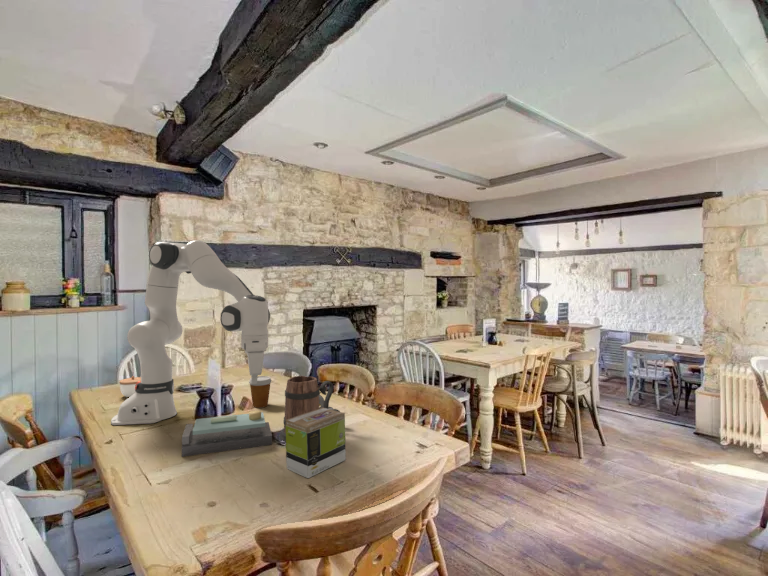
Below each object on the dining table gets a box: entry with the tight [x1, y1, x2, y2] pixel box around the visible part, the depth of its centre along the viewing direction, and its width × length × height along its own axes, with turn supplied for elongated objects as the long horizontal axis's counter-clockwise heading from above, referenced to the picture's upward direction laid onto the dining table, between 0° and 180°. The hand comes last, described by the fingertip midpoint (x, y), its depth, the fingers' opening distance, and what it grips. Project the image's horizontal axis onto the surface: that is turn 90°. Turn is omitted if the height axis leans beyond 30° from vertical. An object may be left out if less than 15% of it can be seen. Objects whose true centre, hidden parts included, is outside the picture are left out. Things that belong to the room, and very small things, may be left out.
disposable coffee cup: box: [248, 375, 272, 409], centre depth 176 cm, size 10×10×12 cm
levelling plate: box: [193, 410, 266, 435], centre depth 135 cm, size 22×12×3 cm, turn 110°
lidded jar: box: [118, 375, 141, 398], centre depth 191 cm, size 11×11×9 cm
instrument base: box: [181, 421, 273, 457], centre depth 135 cm, size 27×14×6 cm, turn 110°
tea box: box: [285, 407, 347, 479], centre depth 119 cm, size 15×10×15 cm, turn 141°
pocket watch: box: [319, 391, 334, 410], centre depth 168 cm, size 8×8×10 cm
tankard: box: [278, 375, 341, 442], centre depth 144 cm, size 24×17×20 cm
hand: (254, 382), depth 138 cm, fingers closed
